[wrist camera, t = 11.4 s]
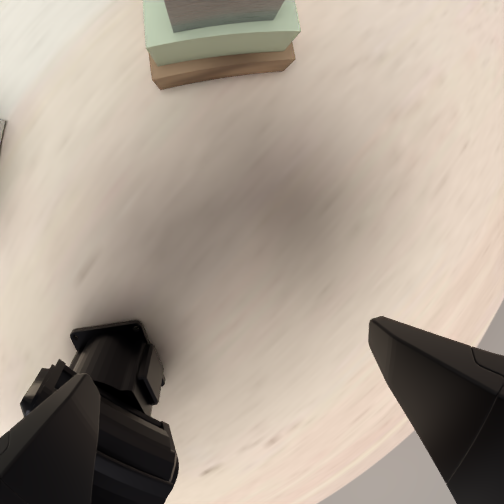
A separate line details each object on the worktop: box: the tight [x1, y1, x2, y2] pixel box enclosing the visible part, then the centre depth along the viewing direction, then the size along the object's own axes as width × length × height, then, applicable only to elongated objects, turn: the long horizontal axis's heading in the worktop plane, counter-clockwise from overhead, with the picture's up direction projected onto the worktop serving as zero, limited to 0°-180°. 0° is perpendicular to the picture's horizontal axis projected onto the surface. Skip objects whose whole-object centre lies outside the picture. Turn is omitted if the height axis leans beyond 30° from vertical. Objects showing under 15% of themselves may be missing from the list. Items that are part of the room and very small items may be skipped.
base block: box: [149, 42, 295, 90], centre depth 15 cm, size 8×8×4 cm
